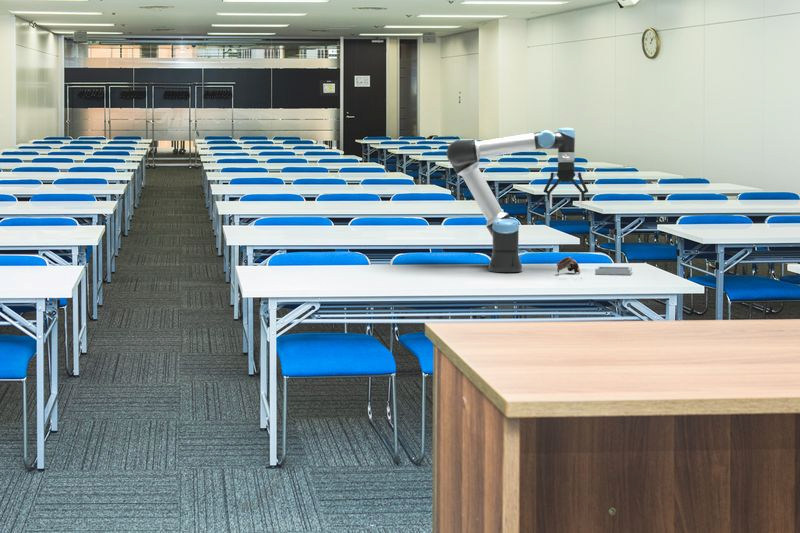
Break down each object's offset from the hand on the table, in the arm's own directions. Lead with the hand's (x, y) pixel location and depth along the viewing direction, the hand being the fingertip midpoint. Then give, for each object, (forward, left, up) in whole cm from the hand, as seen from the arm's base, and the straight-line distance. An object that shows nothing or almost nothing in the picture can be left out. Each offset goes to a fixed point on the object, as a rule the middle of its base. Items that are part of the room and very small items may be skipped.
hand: (565, 208), depth 495 cm
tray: (+23, -15, -29) cm, 40 cm away
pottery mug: (+5, -18, -30) cm, 35 cm away
